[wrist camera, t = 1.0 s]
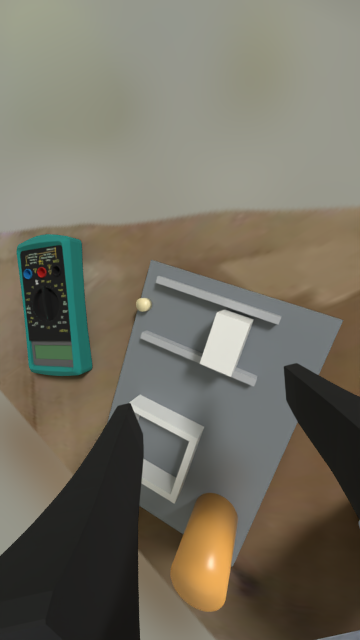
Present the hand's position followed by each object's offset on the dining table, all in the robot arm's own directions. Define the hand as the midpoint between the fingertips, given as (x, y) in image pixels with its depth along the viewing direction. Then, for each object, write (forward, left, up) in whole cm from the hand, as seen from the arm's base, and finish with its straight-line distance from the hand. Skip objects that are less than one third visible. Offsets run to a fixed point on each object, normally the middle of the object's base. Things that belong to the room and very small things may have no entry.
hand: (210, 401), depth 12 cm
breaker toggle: (+1, -1, -10) cm, 10 cm away
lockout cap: (-3, +15, -10) cm, 18 cm away
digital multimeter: (+20, +3, -12) cm, 23 cm away
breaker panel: (+2, +7, -11) cm, 13 cm away
